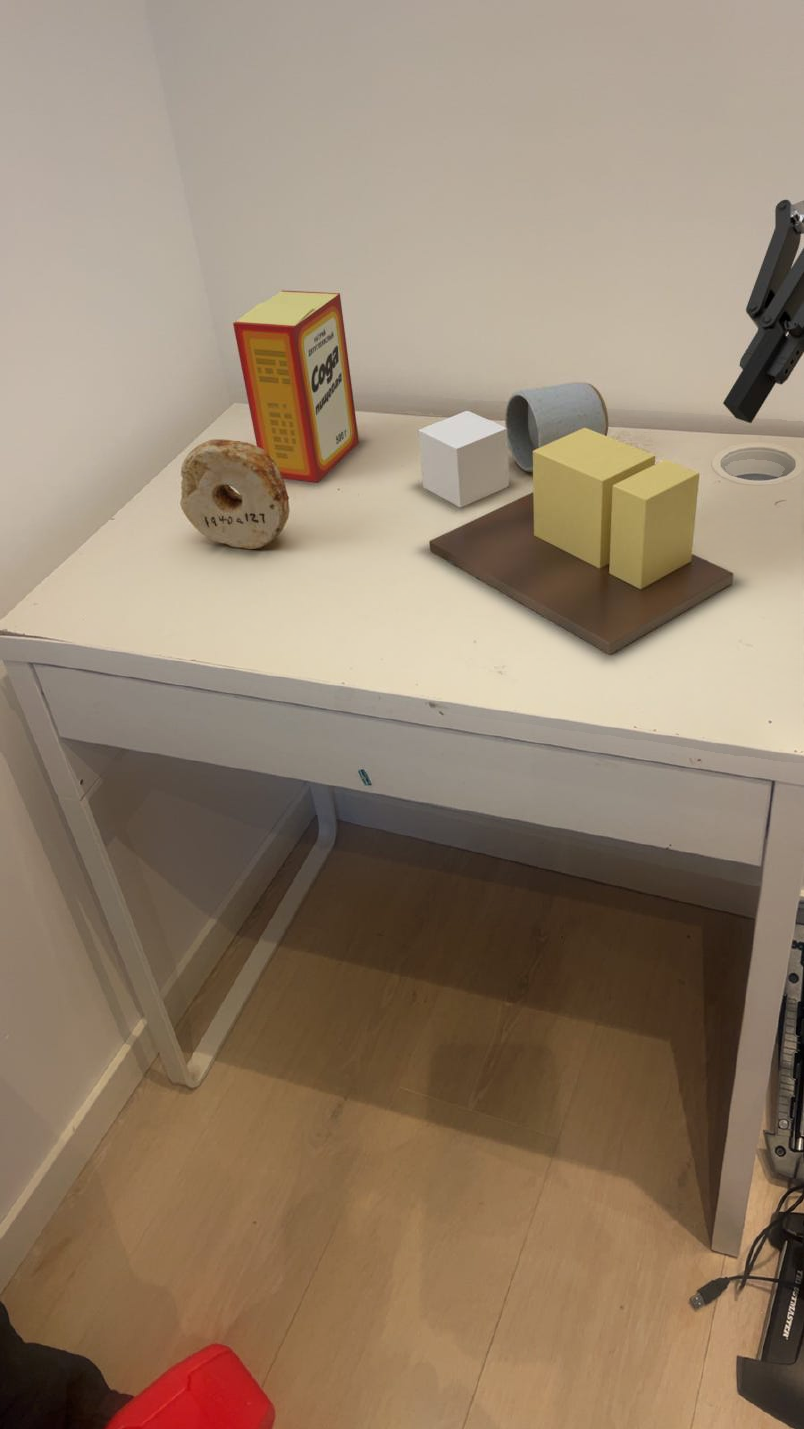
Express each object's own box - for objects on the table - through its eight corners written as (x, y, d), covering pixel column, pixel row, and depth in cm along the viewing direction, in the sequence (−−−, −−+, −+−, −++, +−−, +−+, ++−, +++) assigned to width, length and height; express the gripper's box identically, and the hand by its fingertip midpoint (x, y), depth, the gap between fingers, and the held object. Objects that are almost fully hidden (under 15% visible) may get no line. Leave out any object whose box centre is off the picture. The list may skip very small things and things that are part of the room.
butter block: (650, 542, 88) (655, 455, 83) (599, 569, 86) (602, 481, 81) (583, 511, 93) (584, 427, 88) (533, 535, 91) (532, 450, 86)
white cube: (470, 467, 105) (467, 410, 101) (509, 486, 101) (507, 428, 97) (422, 487, 102) (417, 429, 98) (460, 508, 98) (456, 448, 94)
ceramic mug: (612, 462, 102) (615, 386, 97) (539, 484, 100) (538, 407, 95) (559, 427, 110) (559, 355, 105) (490, 446, 108) (486, 373, 103)
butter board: (732, 583, 84) (734, 572, 83) (610, 655, 78) (610, 644, 78) (545, 495, 98) (545, 486, 98) (429, 550, 93) (429, 540, 92)
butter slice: (691, 561, 85) (700, 472, 80) (640, 590, 83) (646, 499, 78) (659, 546, 88) (665, 458, 83) (608, 573, 85) (612, 485, 80)
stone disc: (303, 536, 97) (286, 436, 90) (286, 557, 94) (267, 454, 88) (207, 525, 100) (183, 428, 94) (187, 545, 98) (162, 445, 91)
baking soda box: (306, 436, 114) (281, 286, 104) (358, 442, 111) (339, 289, 101) (262, 475, 107) (232, 319, 97) (317, 482, 105) (292, 323, 95)
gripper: (999, 176, 78) (823, 457, 81) (846, 156, 86) (692, 412, 90) (977, 109, 72) (789, 414, 76) (815, 95, 80) (653, 370, 84)
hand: (737, 413), depth 83 cm, fingers closed
